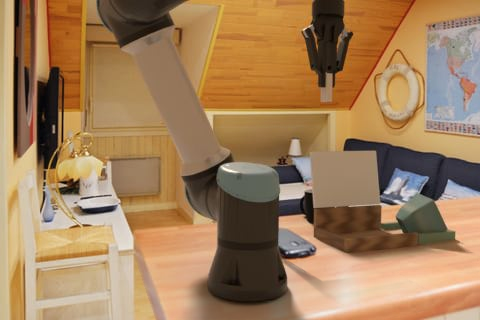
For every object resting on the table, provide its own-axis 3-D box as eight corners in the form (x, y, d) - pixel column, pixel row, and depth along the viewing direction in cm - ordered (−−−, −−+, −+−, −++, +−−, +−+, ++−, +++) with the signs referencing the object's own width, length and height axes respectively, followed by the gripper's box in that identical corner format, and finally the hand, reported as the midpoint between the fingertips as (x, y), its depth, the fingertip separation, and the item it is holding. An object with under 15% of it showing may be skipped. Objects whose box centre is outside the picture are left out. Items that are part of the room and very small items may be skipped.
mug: (341, 226, 133) (342, 191, 132) (321, 230, 127) (322, 194, 126) (310, 219, 142) (310, 187, 141) (289, 223, 136) (290, 189, 135)
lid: (311, 151, 119) (309, 151, 119) (315, 208, 117) (313, 208, 118) (376, 150, 126) (374, 151, 126) (380, 204, 124) (378, 204, 125)
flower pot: (417, 247, 115) (449, 230, 115) (402, 217, 114) (434, 199, 114) (402, 237, 124) (431, 221, 124) (388, 209, 122) (418, 193, 123)
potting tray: (418, 244, 112) (418, 234, 112) (380, 232, 125) (380, 223, 125) (455, 241, 116) (455, 231, 116) (414, 229, 129) (415, 220, 129)
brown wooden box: (346, 252, 104) (347, 219, 104) (313, 237, 118) (314, 208, 118) (417, 245, 111) (418, 214, 111) (378, 232, 125) (379, 204, 125)
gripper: (311, -8, 102) (309, 100, 104) (361, -1, 107) (358, 101, 108) (295, 1, 109) (294, 101, 111) (343, 6, 114) (341, 103, 115)
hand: (326, 101), depth 110 cm, fingers closed
